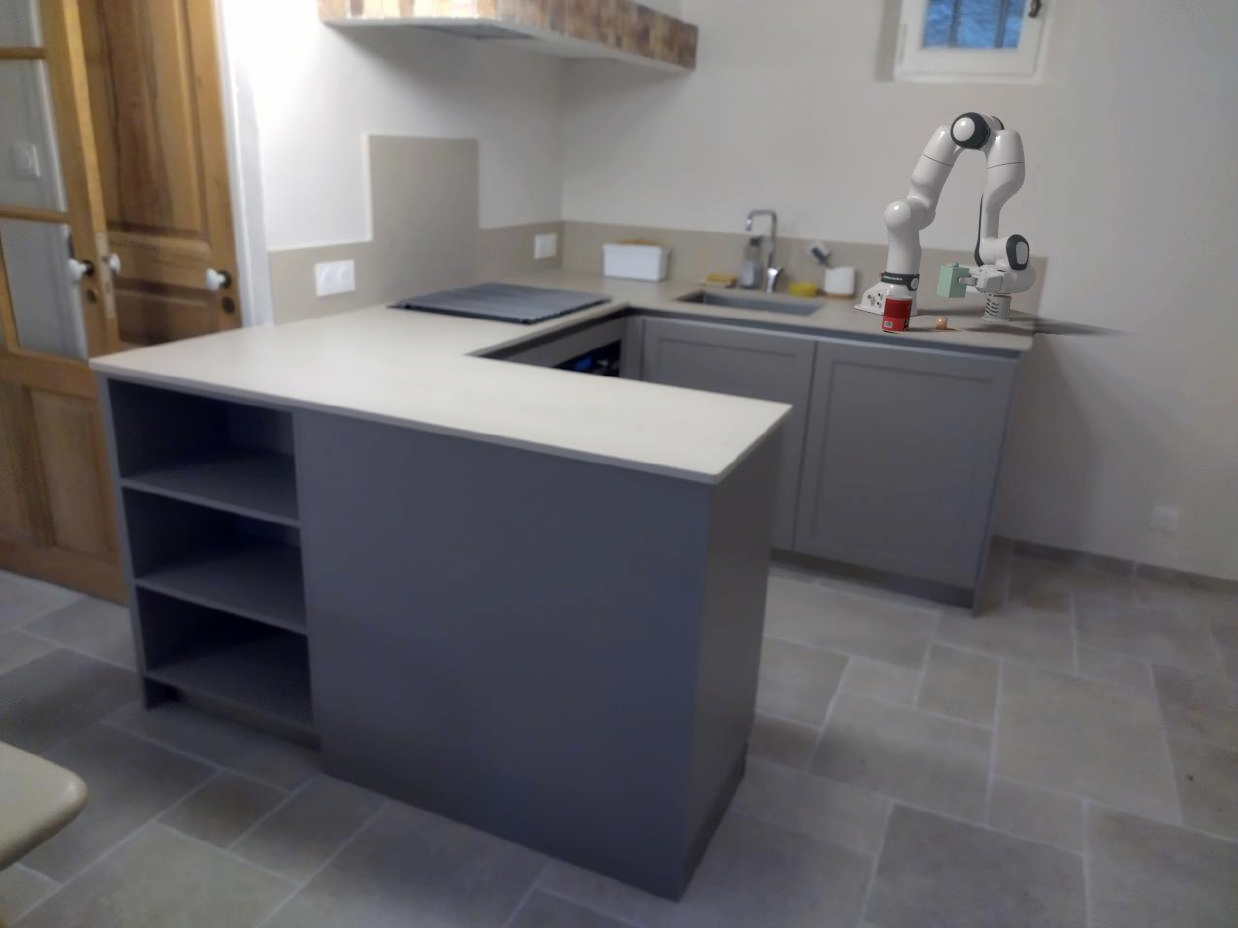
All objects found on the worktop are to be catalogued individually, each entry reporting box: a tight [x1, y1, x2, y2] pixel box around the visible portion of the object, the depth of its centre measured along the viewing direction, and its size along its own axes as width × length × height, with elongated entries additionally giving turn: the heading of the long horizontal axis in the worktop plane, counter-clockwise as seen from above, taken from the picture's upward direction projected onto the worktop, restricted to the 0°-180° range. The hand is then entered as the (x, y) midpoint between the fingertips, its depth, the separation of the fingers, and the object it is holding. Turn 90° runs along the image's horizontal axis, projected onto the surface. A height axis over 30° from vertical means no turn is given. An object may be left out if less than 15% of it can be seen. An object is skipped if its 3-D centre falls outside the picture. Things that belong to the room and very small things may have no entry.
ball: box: [935, 316, 949, 330], centre depth 287 cm, size 3×3×4 cm
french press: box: [980, 293, 1013, 323], centre depth 312 cm, size 10×12×25 cm
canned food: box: [881, 295, 913, 335], centre depth 282 cm, size 8×8×11 cm
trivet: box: [922, 325, 963, 333], centre depth 287 cm, size 9×9×1 cm
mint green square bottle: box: [936, 262, 971, 299], centre depth 282 cm, size 6×6×10 cm
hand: (950, 278), depth 282 cm, fingers closed on mint green square bottle, 6 cm apart
